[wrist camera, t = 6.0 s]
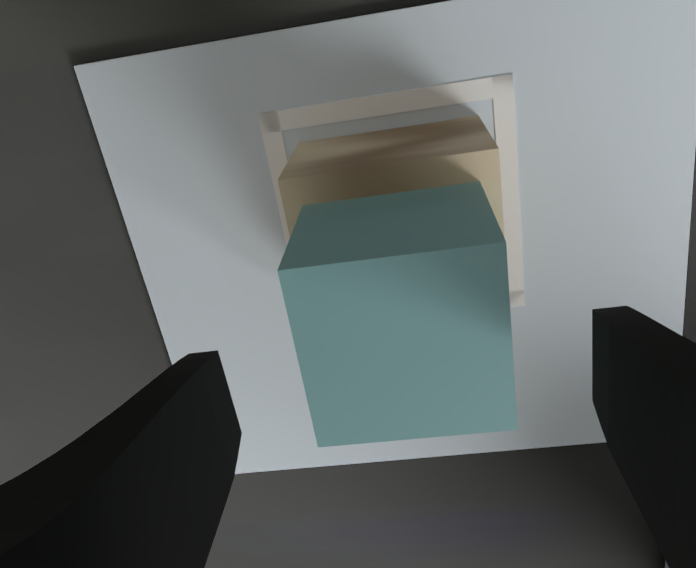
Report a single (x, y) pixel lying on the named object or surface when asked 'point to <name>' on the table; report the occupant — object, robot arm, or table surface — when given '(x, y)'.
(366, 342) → the teal block
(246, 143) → the board
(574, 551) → the table surface
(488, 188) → the base block
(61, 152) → the table surface
